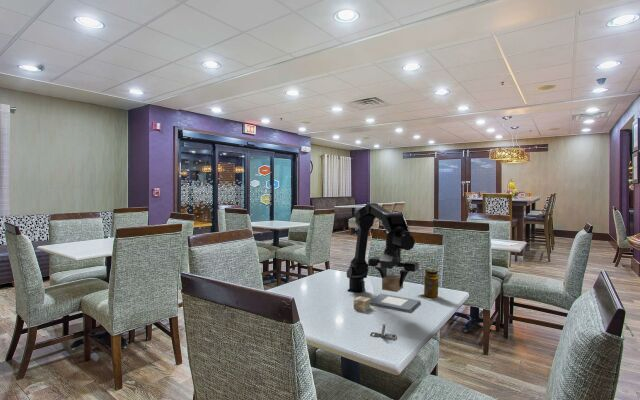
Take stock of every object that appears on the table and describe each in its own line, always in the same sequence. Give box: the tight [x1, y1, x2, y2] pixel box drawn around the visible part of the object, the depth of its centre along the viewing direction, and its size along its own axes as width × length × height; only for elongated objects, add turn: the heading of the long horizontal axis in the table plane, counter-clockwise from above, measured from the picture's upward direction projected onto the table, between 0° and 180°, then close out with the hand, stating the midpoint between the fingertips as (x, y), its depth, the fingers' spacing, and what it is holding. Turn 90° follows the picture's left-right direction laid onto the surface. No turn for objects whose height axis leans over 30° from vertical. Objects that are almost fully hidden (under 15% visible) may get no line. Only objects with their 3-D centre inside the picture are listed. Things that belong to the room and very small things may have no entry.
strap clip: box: [369, 323, 398, 341], centre depth 116 cm, size 8×3×4 cm, turn 69°
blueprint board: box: [370, 293, 421, 313], centre depth 149 cm, size 18×14×1 cm
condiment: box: [416, 269, 442, 301], centre depth 159 cm, size 7×8×12 cm
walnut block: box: [381, 274, 404, 293], centre depth 136 cm, size 6×7×4 cm
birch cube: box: [353, 296, 371, 312], centre depth 143 cm, size 5×5×4 cm
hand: (392, 285), depth 136 cm, fingers closed on walnut block, 6 cm apart
